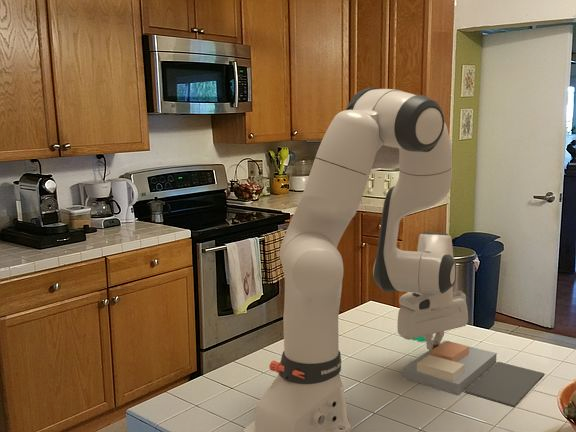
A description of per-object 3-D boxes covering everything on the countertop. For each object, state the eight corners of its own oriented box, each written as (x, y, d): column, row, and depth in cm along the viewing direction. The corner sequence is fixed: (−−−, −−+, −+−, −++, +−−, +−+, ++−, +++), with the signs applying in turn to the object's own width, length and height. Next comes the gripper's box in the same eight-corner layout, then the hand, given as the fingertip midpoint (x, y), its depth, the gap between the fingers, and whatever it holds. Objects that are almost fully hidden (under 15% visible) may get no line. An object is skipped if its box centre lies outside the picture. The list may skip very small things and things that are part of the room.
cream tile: (464, 372, 132) (464, 364, 131) (453, 381, 127) (453, 373, 127) (428, 362, 138) (428, 354, 137) (416, 371, 133) (416, 363, 133)
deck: (458, 394, 126) (458, 384, 126) (402, 377, 135) (402, 367, 135) (496, 362, 143) (496, 353, 142) (444, 349, 152) (444, 340, 151)
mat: (514, 407, 120) (514, 405, 120) (464, 392, 127) (464, 390, 127) (544, 374, 135) (544, 373, 135) (498, 363, 142) (498, 361, 142)
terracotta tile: (452, 365, 136) (452, 357, 135) (429, 359, 140) (429, 351, 139) (468, 354, 142) (469, 346, 142) (446, 348, 146) (446, 340, 146)
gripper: (456, 286, 149) (455, 336, 151) (393, 298, 140) (393, 352, 142) (474, 292, 143) (473, 344, 146) (410, 305, 134) (409, 361, 136)
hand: (433, 348), depth 144 cm, fingers closed
